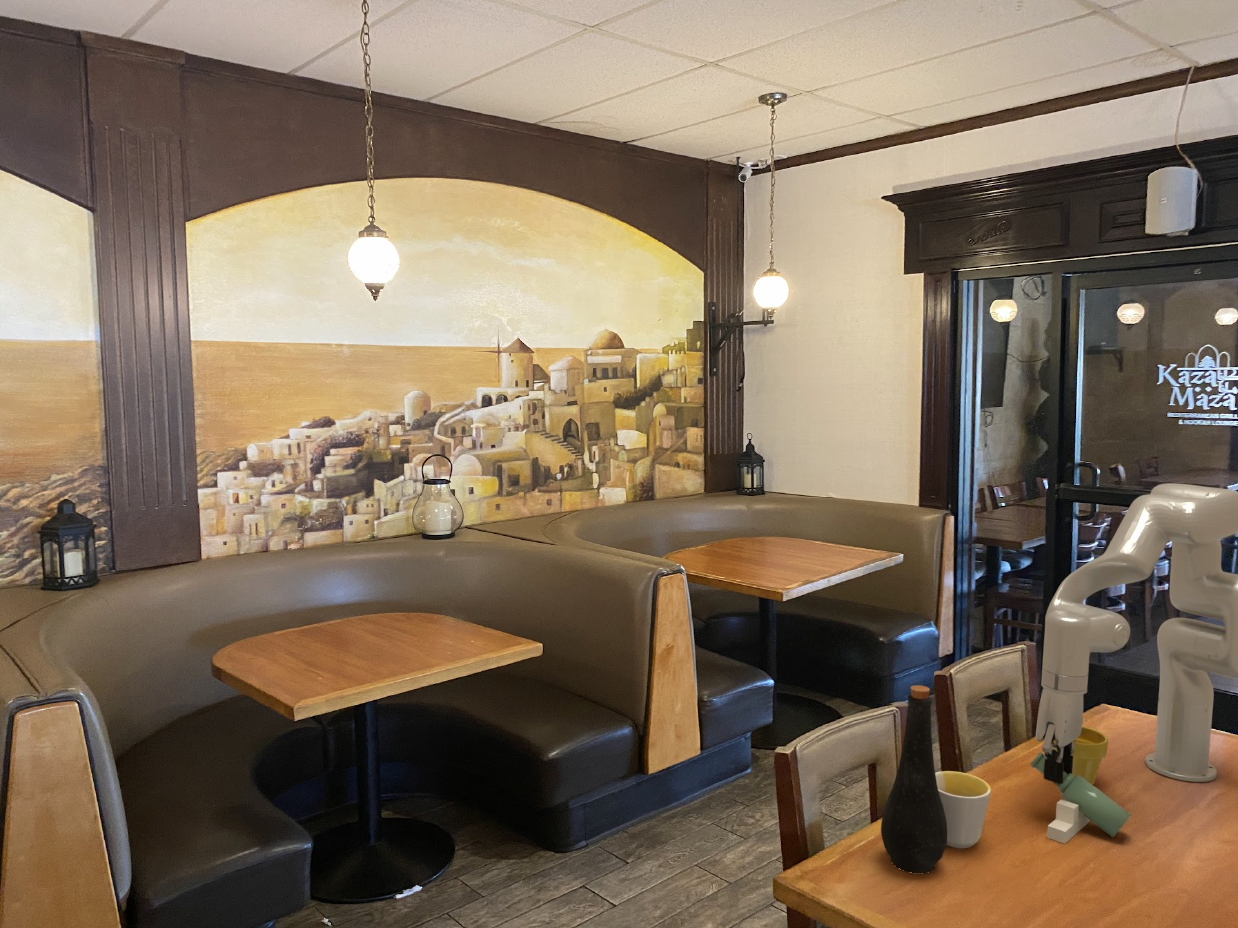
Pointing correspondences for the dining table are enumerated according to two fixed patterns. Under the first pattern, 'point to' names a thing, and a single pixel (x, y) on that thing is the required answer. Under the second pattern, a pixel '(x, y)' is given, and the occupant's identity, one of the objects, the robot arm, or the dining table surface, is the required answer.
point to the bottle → (915, 796)
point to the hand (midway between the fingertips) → (1057, 776)
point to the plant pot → (1088, 753)
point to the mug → (963, 806)
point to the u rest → (1066, 822)
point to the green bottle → (1089, 800)
